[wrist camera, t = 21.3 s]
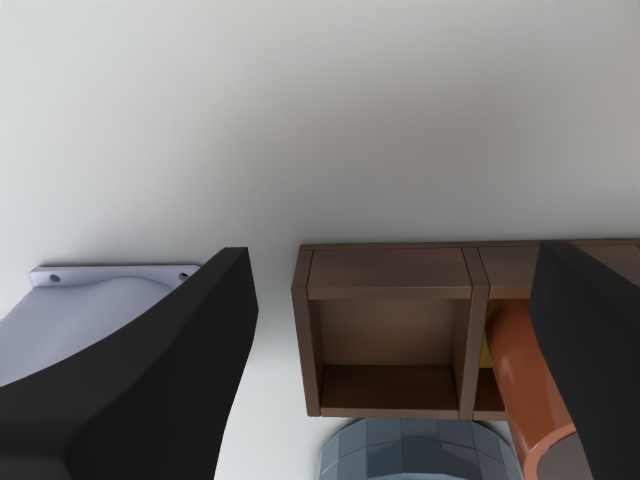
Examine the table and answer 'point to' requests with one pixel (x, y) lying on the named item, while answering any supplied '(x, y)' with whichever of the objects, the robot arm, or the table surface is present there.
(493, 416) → the box
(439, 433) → the bowl
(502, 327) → the cup
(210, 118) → the table surface
